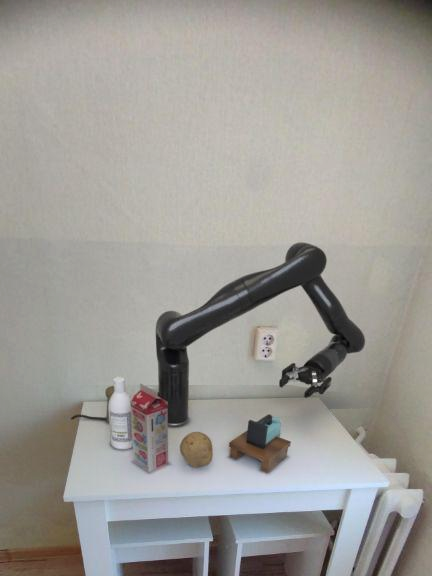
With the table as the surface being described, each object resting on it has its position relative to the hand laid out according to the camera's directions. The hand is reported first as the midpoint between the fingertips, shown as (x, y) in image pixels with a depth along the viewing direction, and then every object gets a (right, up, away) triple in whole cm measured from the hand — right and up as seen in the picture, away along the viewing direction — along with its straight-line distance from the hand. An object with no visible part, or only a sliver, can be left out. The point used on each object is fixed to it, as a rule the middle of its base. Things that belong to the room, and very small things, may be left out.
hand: (292, 389), depth 134 cm
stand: (-10, -20, -2) cm, 22 cm away
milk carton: (-40, -22, -7) cm, 46 cm away
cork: (-54, -7, +12) cm, 56 cm away
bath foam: (-49, -16, 0) cm, 52 cm away
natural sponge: (-28, -22, -7) cm, 36 cm away
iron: (-8, -14, -3) cm, 17 cm away
